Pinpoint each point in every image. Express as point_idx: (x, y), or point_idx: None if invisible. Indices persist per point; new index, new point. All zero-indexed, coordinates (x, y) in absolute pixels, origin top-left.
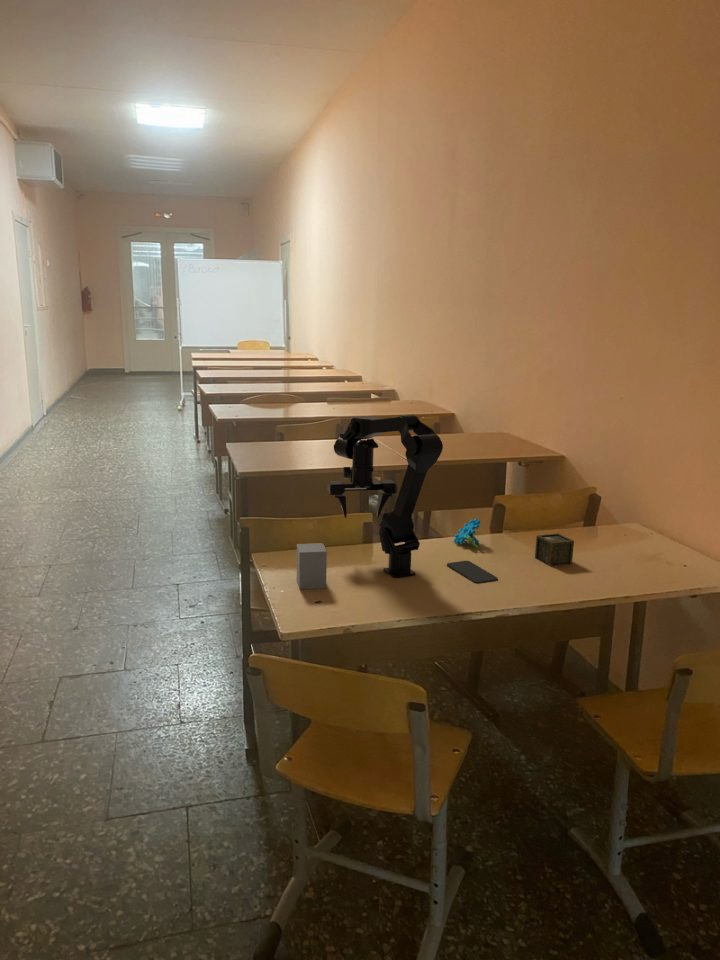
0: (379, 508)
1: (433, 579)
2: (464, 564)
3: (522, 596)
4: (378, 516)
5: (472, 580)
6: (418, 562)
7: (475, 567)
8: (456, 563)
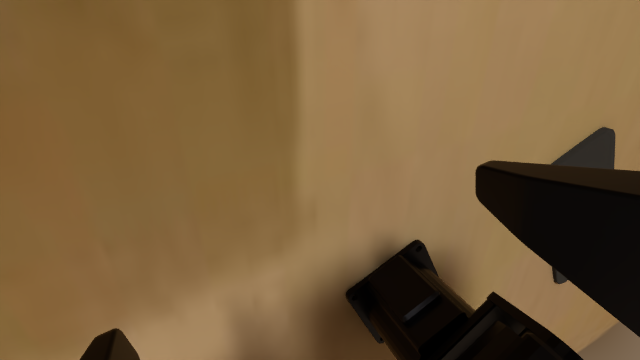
0: (578, 285)
1: (476, 298)
2: (590, 167)
3: (599, 313)
4: (489, 199)
5: (557, 278)
6: (472, 167)
7: None
8: (575, 165)
